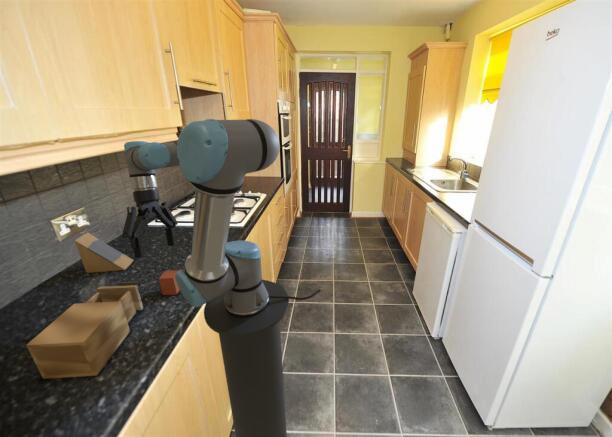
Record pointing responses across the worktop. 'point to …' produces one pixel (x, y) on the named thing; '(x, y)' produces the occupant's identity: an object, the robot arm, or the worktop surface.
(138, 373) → the worktop surface
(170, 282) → the block
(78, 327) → the tan rectangular box
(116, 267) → the sandwich container
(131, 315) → the drawer
